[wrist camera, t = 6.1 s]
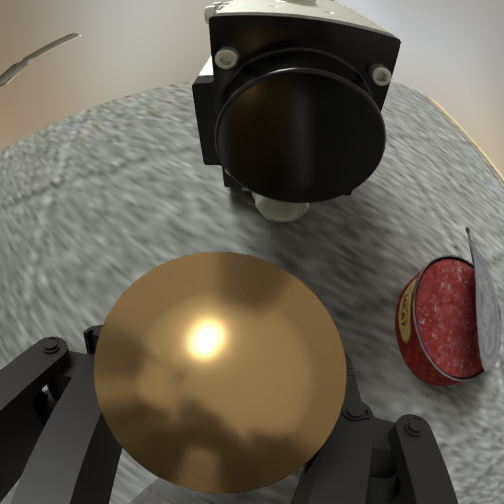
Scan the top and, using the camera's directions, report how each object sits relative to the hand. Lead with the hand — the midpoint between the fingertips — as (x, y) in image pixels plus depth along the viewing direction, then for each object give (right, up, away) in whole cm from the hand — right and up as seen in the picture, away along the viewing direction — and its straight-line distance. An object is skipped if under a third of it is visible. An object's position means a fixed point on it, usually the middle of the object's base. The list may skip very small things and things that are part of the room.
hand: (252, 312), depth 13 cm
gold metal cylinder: (-1, -5, +1) cm, 5 cm away
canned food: (+15, -3, +4) cm, 16 cm away
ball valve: (+2, +9, +11) cm, 14 cm away
